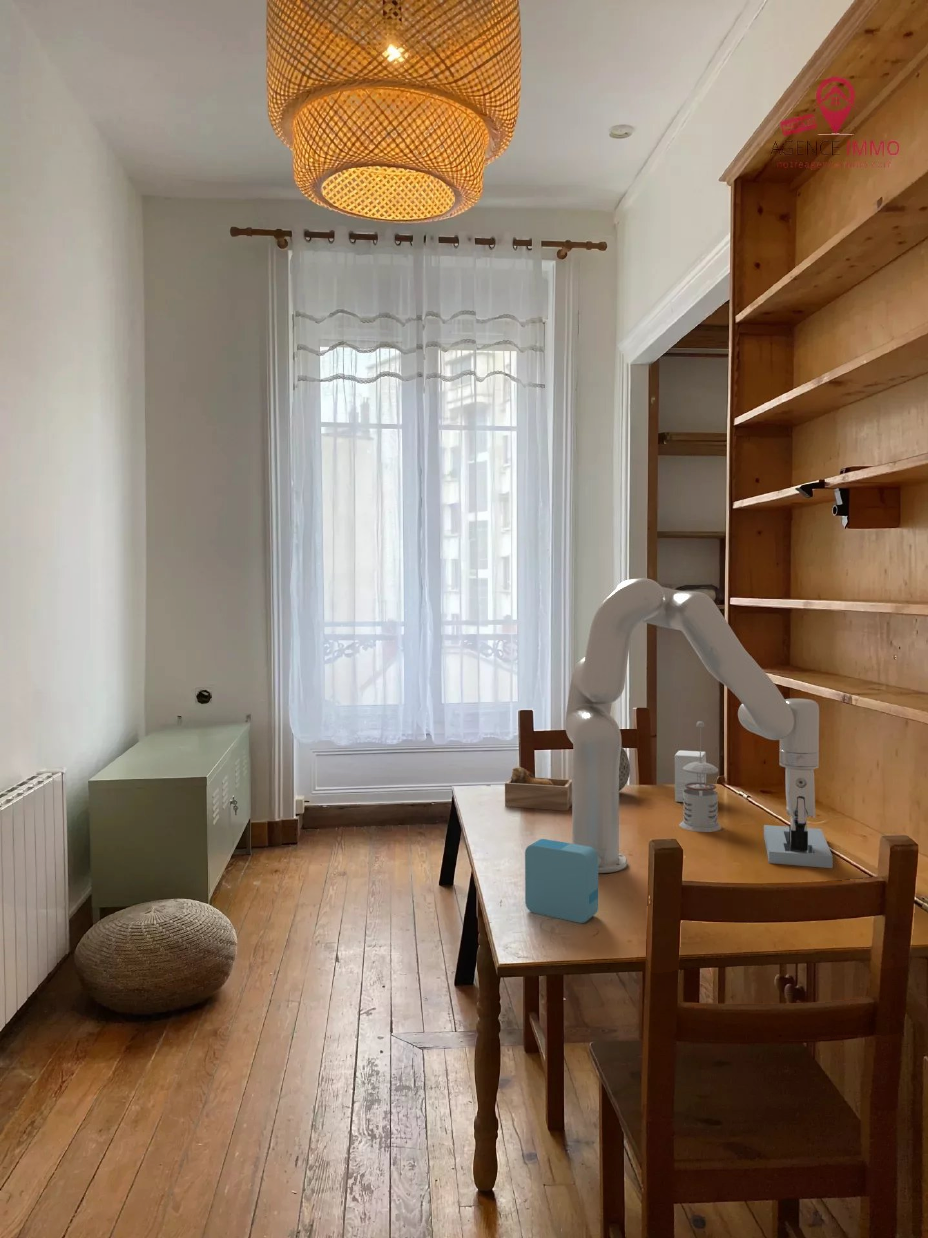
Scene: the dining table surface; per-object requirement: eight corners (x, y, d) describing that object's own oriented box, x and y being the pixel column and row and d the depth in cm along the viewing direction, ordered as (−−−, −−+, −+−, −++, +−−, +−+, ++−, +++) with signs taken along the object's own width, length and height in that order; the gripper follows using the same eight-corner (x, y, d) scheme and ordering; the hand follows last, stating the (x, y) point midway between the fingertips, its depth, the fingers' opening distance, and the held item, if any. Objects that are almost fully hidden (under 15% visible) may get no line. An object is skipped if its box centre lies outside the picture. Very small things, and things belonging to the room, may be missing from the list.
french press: (678, 830, 194) (678, 723, 193) (680, 817, 205) (680, 716, 204) (722, 833, 191) (722, 725, 190) (721, 820, 202) (722, 718, 201)
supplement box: (706, 798, 224) (707, 751, 223) (702, 804, 217) (702, 756, 216) (679, 795, 227) (679, 749, 226) (674, 801, 220) (674, 754, 220)
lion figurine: (507, 801, 220) (507, 768, 220) (515, 797, 225) (516, 764, 224) (559, 809, 213) (560, 774, 213) (566, 804, 218) (567, 770, 217)
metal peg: (812, 861, 169) (812, 811, 169) (787, 859, 170) (787, 810, 170) (809, 854, 174) (810, 806, 173) (785, 852, 175) (785, 804, 175)
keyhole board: (832, 868, 166) (832, 856, 166) (768, 863, 170) (769, 851, 170) (820, 839, 186) (820, 829, 186) (763, 835, 189) (763, 825, 189)
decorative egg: (587, 788, 236) (586, 735, 235) (629, 789, 234) (628, 736, 234) (586, 798, 224) (586, 743, 224) (630, 799, 222) (630, 744, 222)
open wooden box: (567, 810, 212) (567, 787, 212) (504, 806, 217) (504, 783, 217) (573, 802, 221) (573, 779, 220) (513, 798, 225) (513, 776, 225)
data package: (598, 916, 143) (598, 847, 143) (588, 925, 139) (588, 854, 139) (536, 903, 149) (536, 837, 149) (524, 911, 145) (524, 843, 145)
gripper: (823, 768, 162) (822, 861, 163) (814, 752, 178) (813, 837, 179) (782, 766, 165) (781, 857, 165) (776, 750, 180) (776, 834, 181)
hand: (798, 846), depth 172 cm, fingers closed on metal peg, 3 cm apart
